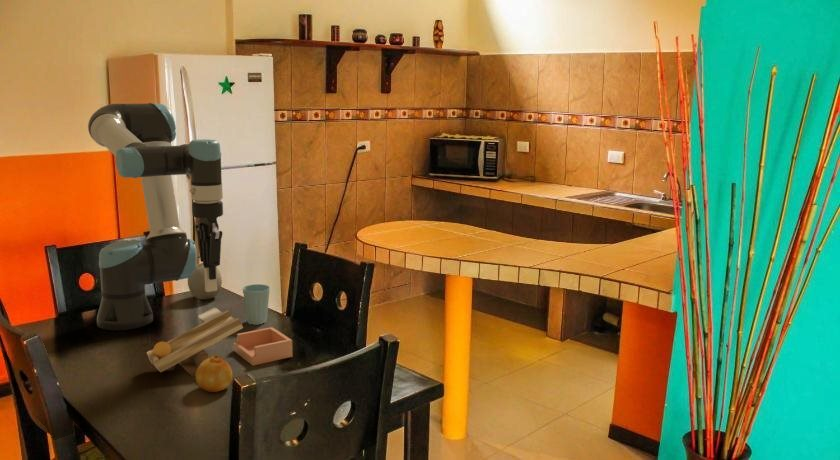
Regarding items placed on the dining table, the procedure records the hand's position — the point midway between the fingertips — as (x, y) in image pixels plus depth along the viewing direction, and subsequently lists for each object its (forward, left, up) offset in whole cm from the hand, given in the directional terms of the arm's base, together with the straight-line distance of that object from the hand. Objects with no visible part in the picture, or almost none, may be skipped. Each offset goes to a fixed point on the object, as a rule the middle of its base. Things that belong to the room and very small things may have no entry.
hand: (211, 290), depth 193 cm
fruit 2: (+25, -9, -16) cm, 31 cm away
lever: (+5, -7, -10) cm, 14 cm away
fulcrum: (+9, -8, -16) cm, 20 cm away
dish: (+11, +9, -16) cm, 21 cm away
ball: (+9, -16, -10) cm, 21 cm away
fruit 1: (-45, +14, -16) cm, 50 cm away
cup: (-14, +18, -16) cm, 28 cm away
